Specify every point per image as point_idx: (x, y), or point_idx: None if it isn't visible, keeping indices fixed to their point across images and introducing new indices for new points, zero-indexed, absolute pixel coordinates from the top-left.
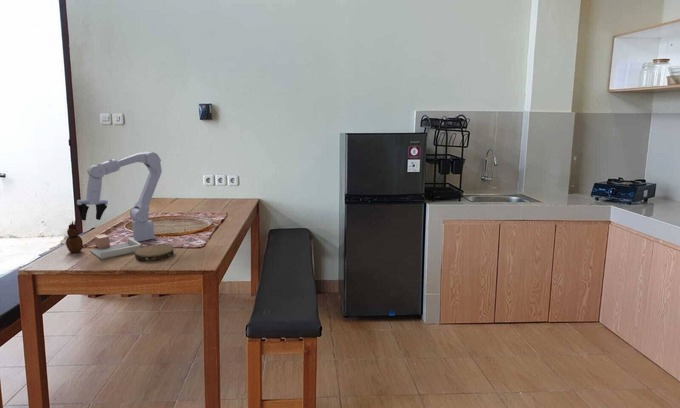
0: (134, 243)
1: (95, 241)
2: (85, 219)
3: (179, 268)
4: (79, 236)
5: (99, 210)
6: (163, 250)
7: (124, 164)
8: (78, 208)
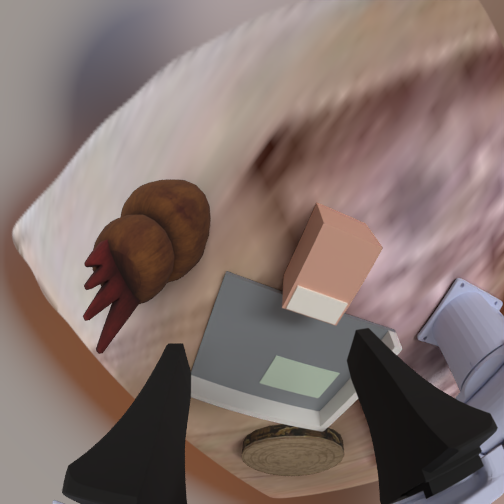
0: (345, 396)
1: (313, 223)
2: (188, 384)
3: (249, 483)
4: (175, 271)
5: (386, 434)
6: (298, 469)
7: None
8: (97, 444)
